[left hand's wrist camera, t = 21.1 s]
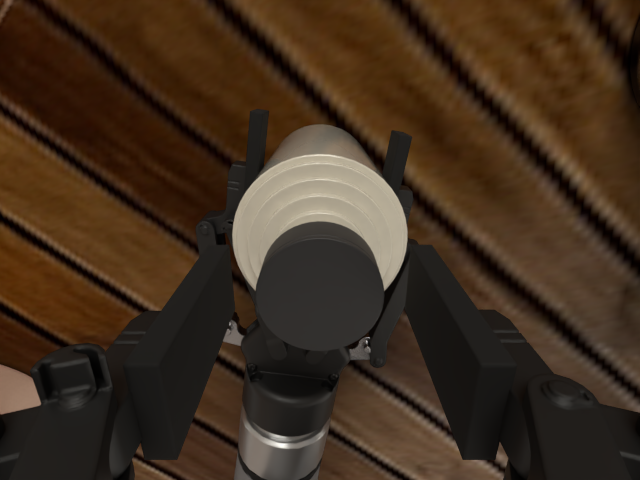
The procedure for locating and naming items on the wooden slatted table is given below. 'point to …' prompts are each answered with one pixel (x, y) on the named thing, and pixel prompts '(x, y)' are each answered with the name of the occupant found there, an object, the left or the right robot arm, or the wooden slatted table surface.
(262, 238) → the bottle
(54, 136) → the wooden slatted table surface
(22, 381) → the anatomical model
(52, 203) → the wooden slatted table surface
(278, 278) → the cap
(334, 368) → the right robot arm
